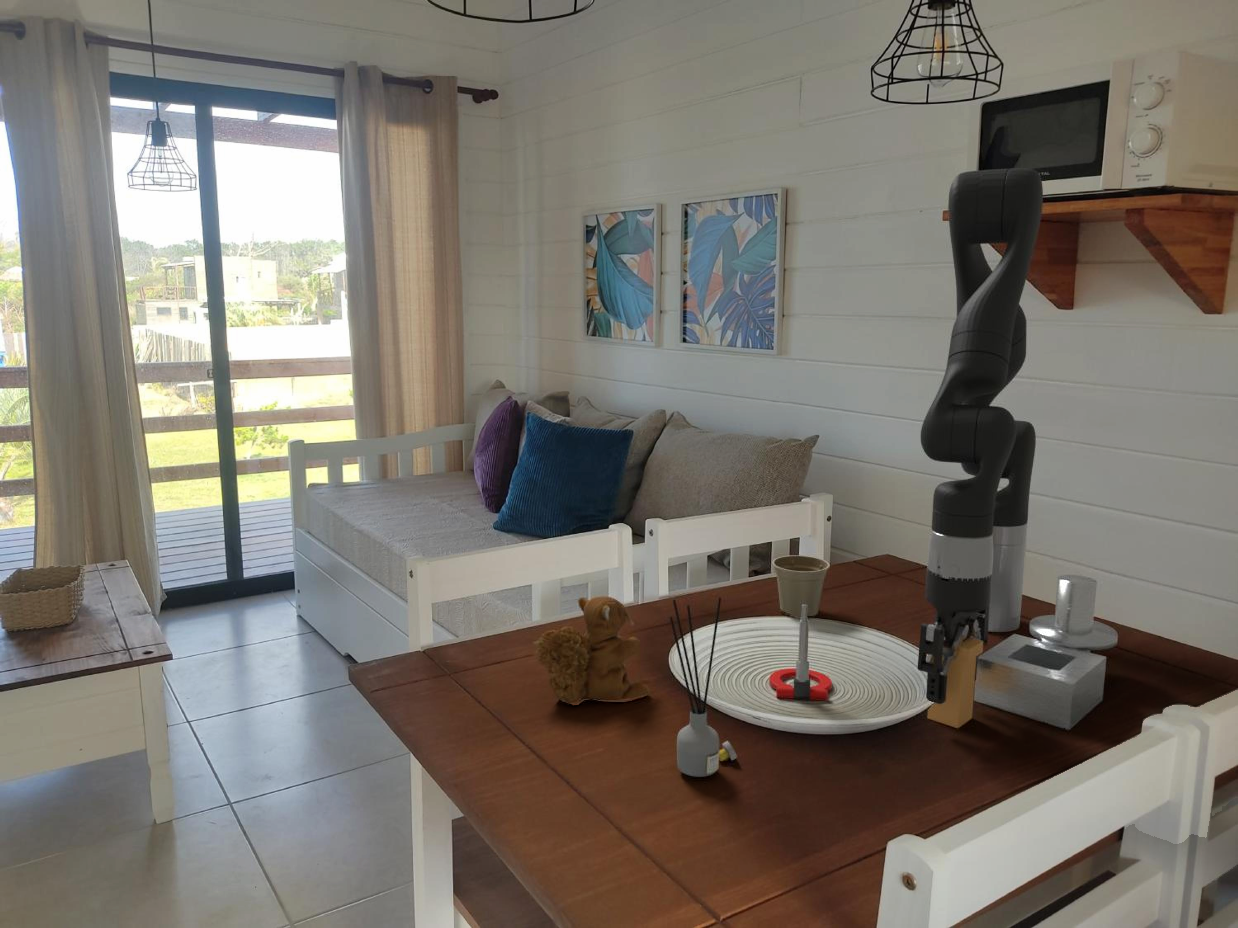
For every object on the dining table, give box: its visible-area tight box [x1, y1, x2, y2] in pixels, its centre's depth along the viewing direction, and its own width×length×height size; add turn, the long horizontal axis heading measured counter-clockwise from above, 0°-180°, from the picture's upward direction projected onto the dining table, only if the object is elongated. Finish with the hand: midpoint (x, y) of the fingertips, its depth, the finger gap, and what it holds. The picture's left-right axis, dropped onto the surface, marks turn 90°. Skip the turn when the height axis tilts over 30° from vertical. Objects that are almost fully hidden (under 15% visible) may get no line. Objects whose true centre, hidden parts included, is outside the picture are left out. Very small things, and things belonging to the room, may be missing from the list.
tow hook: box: [768, 604, 833, 701], centre depth 126 cm, size 8×13×9 cm
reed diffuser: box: [669, 596, 738, 778], centre depth 104 cm, size 10×7×20 cm
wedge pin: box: [926, 637, 984, 729], centre depth 117 cm, size 6×4×10 cm
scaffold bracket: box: [973, 574, 1119, 731], centre depth 125 cm, size 12×22×14 cm, turn 135°
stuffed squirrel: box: [533, 595, 650, 703], centre depth 124 cm, size 10×14×13 cm
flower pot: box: [771, 554, 831, 618], centre depth 156 cm, size 9×9×9 cm
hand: (951, 690), depth 117 cm, fingers open, 8 cm apart
